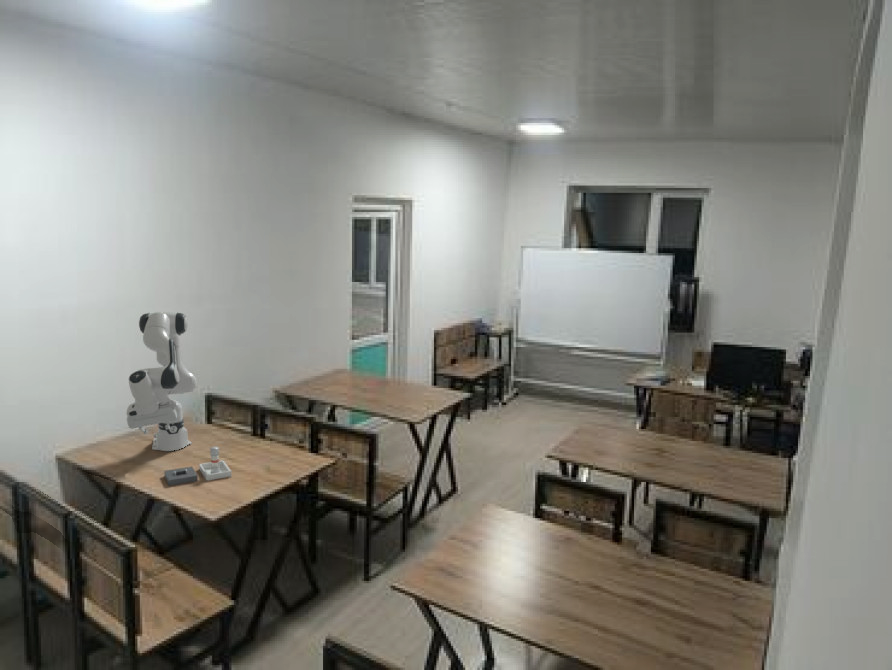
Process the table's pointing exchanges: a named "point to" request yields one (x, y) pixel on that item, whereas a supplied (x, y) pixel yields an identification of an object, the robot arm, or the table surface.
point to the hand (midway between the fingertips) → (157, 430)
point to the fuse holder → (180, 476)
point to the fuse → (214, 460)
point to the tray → (223, 473)
